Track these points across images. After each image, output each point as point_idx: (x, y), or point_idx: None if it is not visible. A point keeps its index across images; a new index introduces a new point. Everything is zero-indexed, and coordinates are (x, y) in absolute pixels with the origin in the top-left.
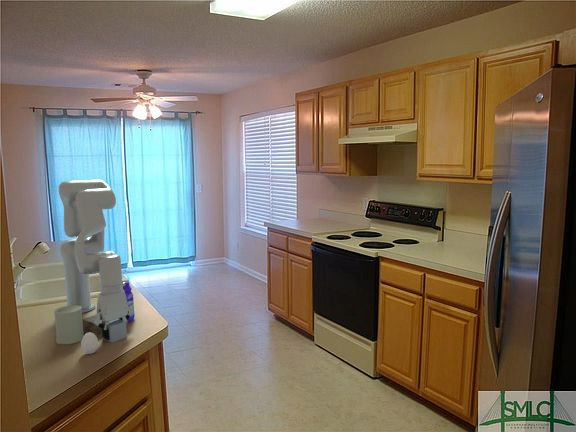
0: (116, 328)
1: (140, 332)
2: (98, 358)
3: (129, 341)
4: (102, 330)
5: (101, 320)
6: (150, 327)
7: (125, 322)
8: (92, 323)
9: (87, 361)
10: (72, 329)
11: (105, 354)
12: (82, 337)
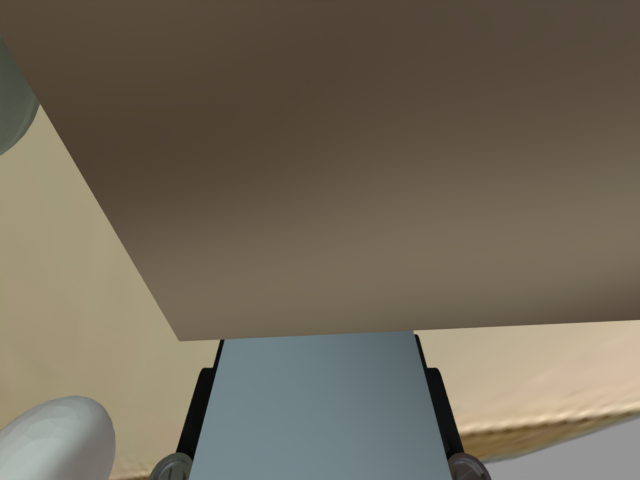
0: None
1: (506, 374)
2: (118, 443)
3: None
4: (182, 446)
5: (349, 229)
6: (635, 359)
7: None
8: (102, 173)
9: None
10: None
11: (162, 437)
12: (1, 141)
